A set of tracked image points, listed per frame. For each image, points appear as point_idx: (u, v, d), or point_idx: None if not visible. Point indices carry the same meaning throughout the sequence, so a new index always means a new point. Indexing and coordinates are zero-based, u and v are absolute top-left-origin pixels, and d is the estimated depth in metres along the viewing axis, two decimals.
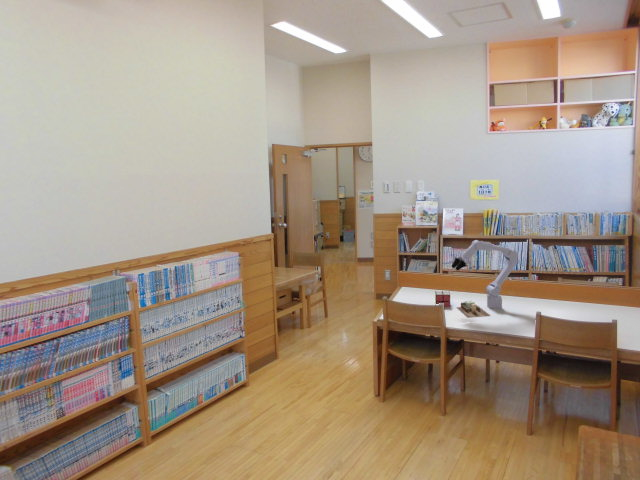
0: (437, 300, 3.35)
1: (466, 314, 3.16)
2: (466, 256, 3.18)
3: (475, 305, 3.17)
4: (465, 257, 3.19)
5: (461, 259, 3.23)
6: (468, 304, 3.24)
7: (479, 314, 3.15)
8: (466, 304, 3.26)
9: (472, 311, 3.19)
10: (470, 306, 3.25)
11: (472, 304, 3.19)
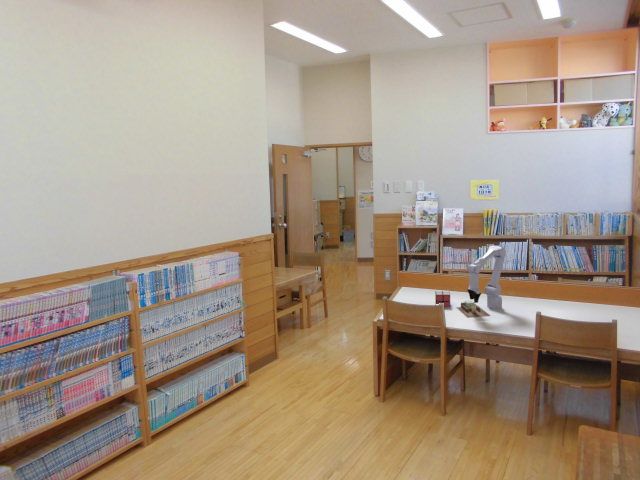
0: (437, 300, 3.35)
1: (466, 314, 3.16)
2: (474, 286, 3.14)
3: (475, 305, 3.17)
4: (474, 287, 3.14)
5: None
6: (468, 304, 3.24)
7: (479, 314, 3.15)
8: (466, 304, 3.26)
9: (472, 311, 3.19)
10: (470, 306, 3.25)
11: (472, 304, 3.19)
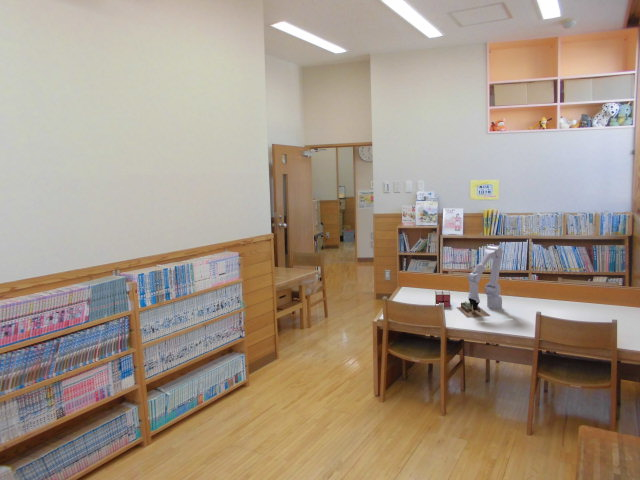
0: (437, 300, 3.35)
1: (466, 314, 3.16)
2: (474, 294, 3.15)
3: None
4: (474, 296, 3.15)
5: None
6: (468, 304, 3.24)
7: (479, 314, 3.15)
8: (466, 304, 3.26)
9: (472, 311, 3.19)
10: (470, 306, 3.25)
11: None
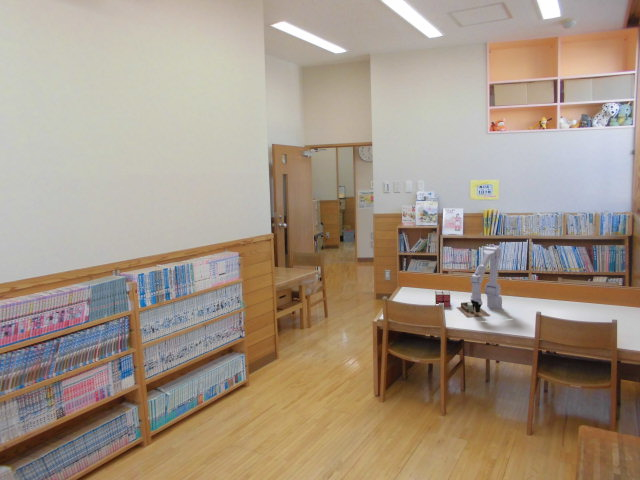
0: (437, 300, 3.35)
1: (466, 314, 3.16)
2: (476, 296, 3.10)
3: None
4: (476, 297, 3.10)
5: None
6: (470, 306, 3.20)
7: (479, 314, 3.15)
8: (468, 306, 3.22)
9: (474, 313, 3.15)
10: (472, 308, 3.20)
11: None
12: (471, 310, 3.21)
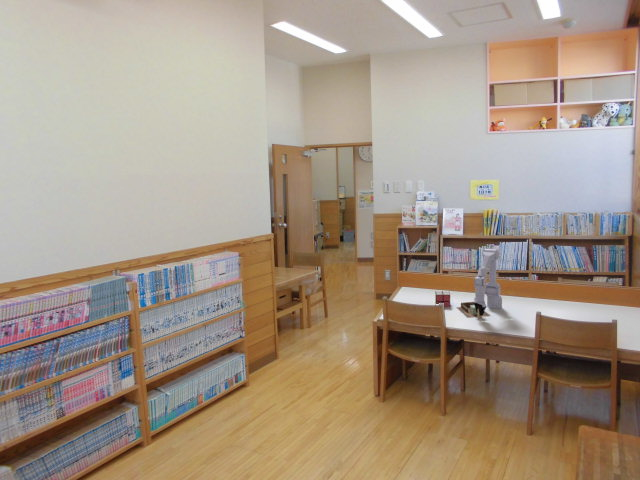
0: (437, 300, 3.35)
1: (466, 314, 3.16)
2: (480, 299, 3.05)
3: None
4: (480, 300, 3.05)
5: None
6: (473, 308, 3.15)
7: None
8: (471, 308, 3.16)
9: (478, 316, 3.09)
10: None
11: (478, 309, 3.09)
12: (474, 313, 3.15)
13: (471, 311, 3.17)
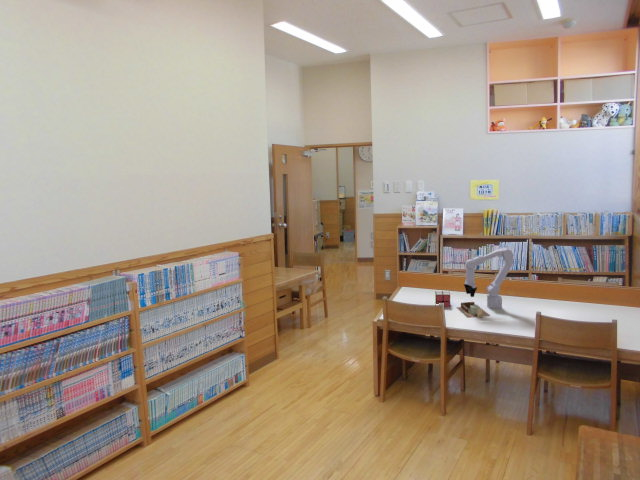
0: (437, 300, 3.35)
1: (466, 314, 3.16)
2: (470, 280, 3.25)
3: (481, 310, 3.08)
4: (470, 282, 3.26)
5: None
6: (473, 308, 3.15)
7: None
8: (471, 308, 3.16)
9: (478, 316, 3.09)
10: (476, 310, 3.15)
11: (478, 309, 3.09)
12: (474, 313, 3.15)
13: (471, 311, 3.17)
